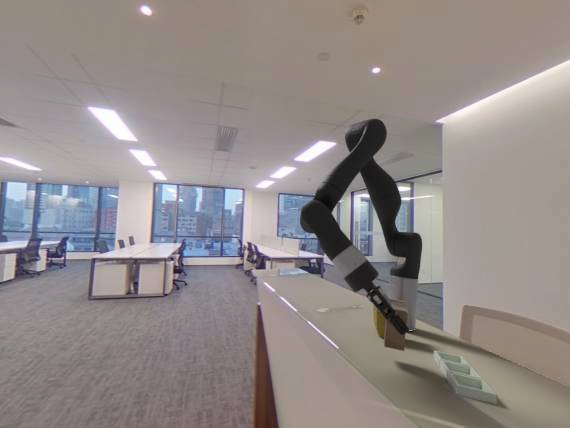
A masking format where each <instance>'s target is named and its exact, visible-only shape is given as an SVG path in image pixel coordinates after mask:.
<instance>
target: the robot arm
mask: <svg viewBox="0 0 570 428" xmlns="http://www.w3.org/2000/svg"><path fill="white" fill-rule="evenodd" d="M387 134H388V131H387V127H386V125H385V123H384V121H382V120H381V119H380V118H370V119H367V120H362V121H358V122H356V123H352V124H351V125H348V126H347V128H346V130H345V132H344V141H345V144H346V148H347V150H348V152H349V153H348V154H347V155H345V157H343V158H342V159H341V160H340V161H338V162H337V163H336V164H335V165H334V166H333V167H332V168H331V169H330V170H329V171H328V172H327V174H326V175H325V177H323V179H322V181H321V182H320V184H319V185H318V186H317V188H316V190H315V193H314V196H313V198H312V199H310V200H307V201H306V202H305V203H304V204H303V205H302V207H301V210H300V216H299V224H300V227H301V229H302V231H304V232H305V233H308V234H314V235H315V237H316V238H317V239H318V243H319V247H320V248H321V250H322V252H323V253H324V255H326V257H327V258H328V259H329V261H330V262H331V263H332V264H333V266H334V268H335V270H336V271H337V272H338V274H339V275H340V276H341V277H342V279H343V280H344V281H345V283H346V284H347V285H348V286H349V288H350V289H351V290H352V291H353V293H358V292H360V291H361V290H364V291H365V293H366V296H365V297H366V298H367V300H368V301H369V302H371V304H374V306H375V307H376V308H377V310H378V311H379V312H381V313H382V314H383V316H384V317H385V319H387V320H389V321H390V322H391V323H392V324H393V326H394V327H395V328H396V329H397V331H398V332H399V333H400V334H401V335H404V334H405V335H406V334H407V333H408V332H410V331H409V330H414V329H415V330H416V322H417V310H418V309H417V306H418V294H419V293H418V292H419V291H418V290H419V289H418V288H419V274H420V270H421V262H422V261H421V260H422V252H423V239H422V236H421V235H420V234H419V232H414V231H399V230H398V228H397V225H396V221H397V220H396V219H397V218H398V217H397V216H398V215H399V212H400V209H401V206H402V197H401V192H400V190H399V187H398V185H397V183H396V180H395V179H394V178H393V177H392V176H391V174H389V173H388V172H387V171H386V170H385V169H384V168H383V167H381V166H380V165H379V164H378V163H377V161H376V159H374V157H375V155H376V154H377V153H378V152H379V151H380V150H382V149H381V148H382V147H383V146H384V144H386V143H385V142H386V139H387V136H388V135H387ZM358 174H360V176H361V178H362V180H363V183H364V186H365V187H366V190H367V192H368V196H369V199H370V201H371V205H372V206H373V209H374V211H375V213H376V216H377V219H378V221H379V224H380V227H381V231H382V234H383V238H384V242H385V246H386V247H387V251H388V252H389V254H390V255H391V256H392V257H396V258H404V259H405V260H404V262H402V263H401V264H398V265H396V266H391V268H390V270H389V285H388V295H387V294H386V293H385V291H384V289H383V288H382V287H381V286H380V285H376V284H375V283H374V282H373V281H374V280H376V279H377V278H378V277H379V272H378V270H377V269H376V268H375V267H374V265H373V264H372V263H371V262H370V261H369V260H368V258H367V257H366V256H365V255H364V254H363V253H362V251H361V250H360V249H359V248H357V247H356V246H355V244H354V243H353V242H352V241H351V240H350V239H349V237H348V236H347V235H346V233H345V232H343V230H342V229H341V227H340V226H339V223H338V221H337V220H336V217H335V216H334V214H333V211H334V209H335V208H336V207H337V205H338V203H339V202H340V201H341V199H342V198H343V196H345V195H344V194H345V193H346V192H347V191H348V188H349V187H350V185H351V184H352V182H353V181H354V180H355V179H356V177H357V175H358ZM389 299H395V300H401V301H406V303H407V304H408V305H407V311H408V313H409V314H408V319H407V324H405V323H404V322H403V320H402V319H401V318H400V317H399V316H398V314H397V312H396V311H395V310H394V309H393V308H392V306H391V304H392V303H391V302H390V300H389ZM387 307H388V308H389V309H390V311H389V312H387V313H386V308H387Z"/></svg>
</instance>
